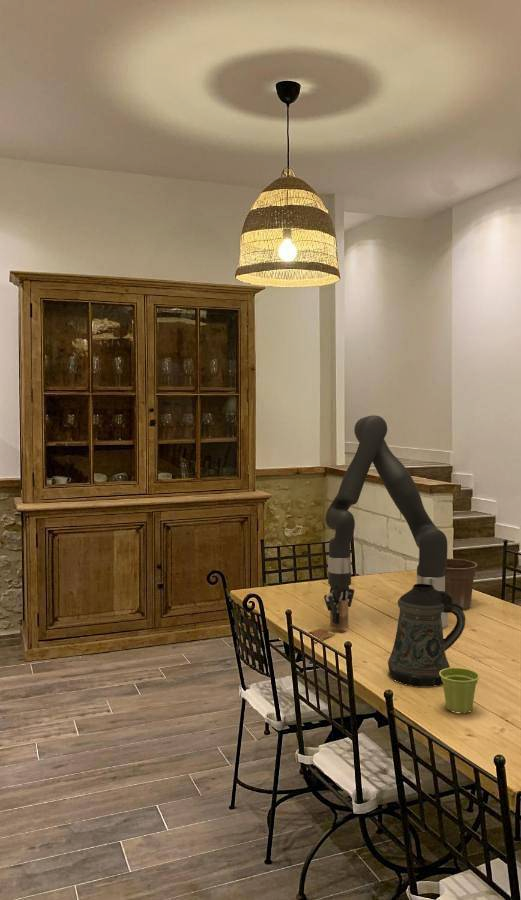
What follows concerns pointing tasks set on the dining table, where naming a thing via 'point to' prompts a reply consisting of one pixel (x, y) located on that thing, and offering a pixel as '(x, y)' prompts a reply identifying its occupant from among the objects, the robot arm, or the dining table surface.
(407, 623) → the beer stein
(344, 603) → the walnut slab
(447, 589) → the plant pot
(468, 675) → the plant pot
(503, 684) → the dining table surface
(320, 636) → the shard
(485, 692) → the dining table surface
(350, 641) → the dining table surface
